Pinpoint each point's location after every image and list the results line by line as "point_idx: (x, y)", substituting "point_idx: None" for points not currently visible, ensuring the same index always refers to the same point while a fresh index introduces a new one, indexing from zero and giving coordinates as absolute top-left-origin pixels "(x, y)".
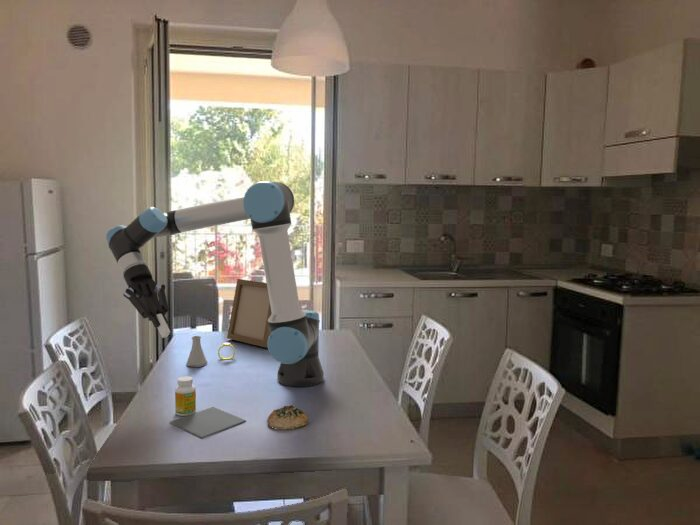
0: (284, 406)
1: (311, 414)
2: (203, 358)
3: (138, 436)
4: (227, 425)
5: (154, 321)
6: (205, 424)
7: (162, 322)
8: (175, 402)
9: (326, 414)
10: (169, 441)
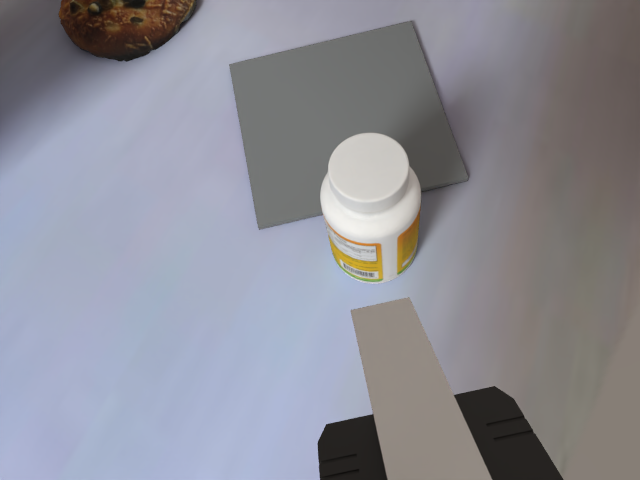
0: (97, 6)
1: (34, 24)
2: None
3: (604, 130)
4: (301, 56)
5: (534, 440)
6: (360, 94)
7: (420, 377)
8: (418, 229)
9: (3, 5)
10: (511, 51)
